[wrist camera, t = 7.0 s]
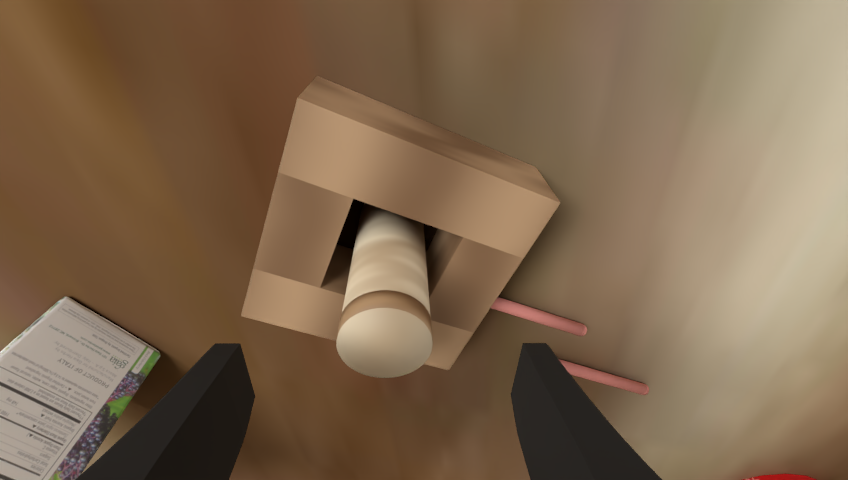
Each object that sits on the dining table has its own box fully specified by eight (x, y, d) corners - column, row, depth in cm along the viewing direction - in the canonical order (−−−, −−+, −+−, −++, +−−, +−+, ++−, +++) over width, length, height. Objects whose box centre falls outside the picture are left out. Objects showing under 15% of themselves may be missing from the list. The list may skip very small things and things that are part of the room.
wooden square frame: (535, 166, 18) (560, 202, 16) (443, 320, 23) (448, 370, 20) (317, 75, 16) (297, 97, 13) (263, 268, 21) (240, 315, 18)
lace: (679, 352, 26) (686, 361, 25) (641, 389, 27) (646, 398, 27) (451, 279, 22) (452, 287, 21) (423, 327, 23) (423, 336, 23)
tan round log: (432, 201, 19) (447, 322, 13) (411, 253, 21) (414, 385, 14) (369, 182, 19) (349, 299, 12) (352, 237, 20) (326, 367, 13)
